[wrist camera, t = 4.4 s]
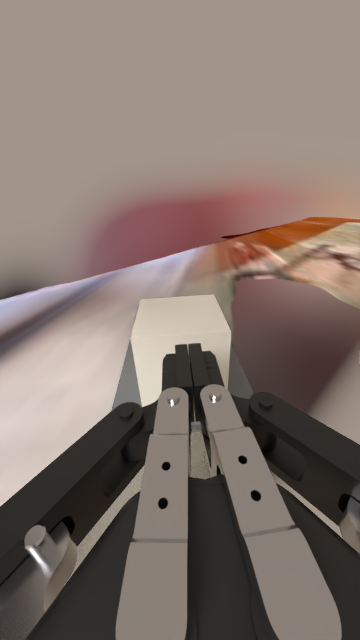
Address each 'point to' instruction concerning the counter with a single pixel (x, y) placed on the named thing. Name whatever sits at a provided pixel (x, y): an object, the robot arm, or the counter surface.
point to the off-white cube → (176, 337)
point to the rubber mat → (236, 387)
